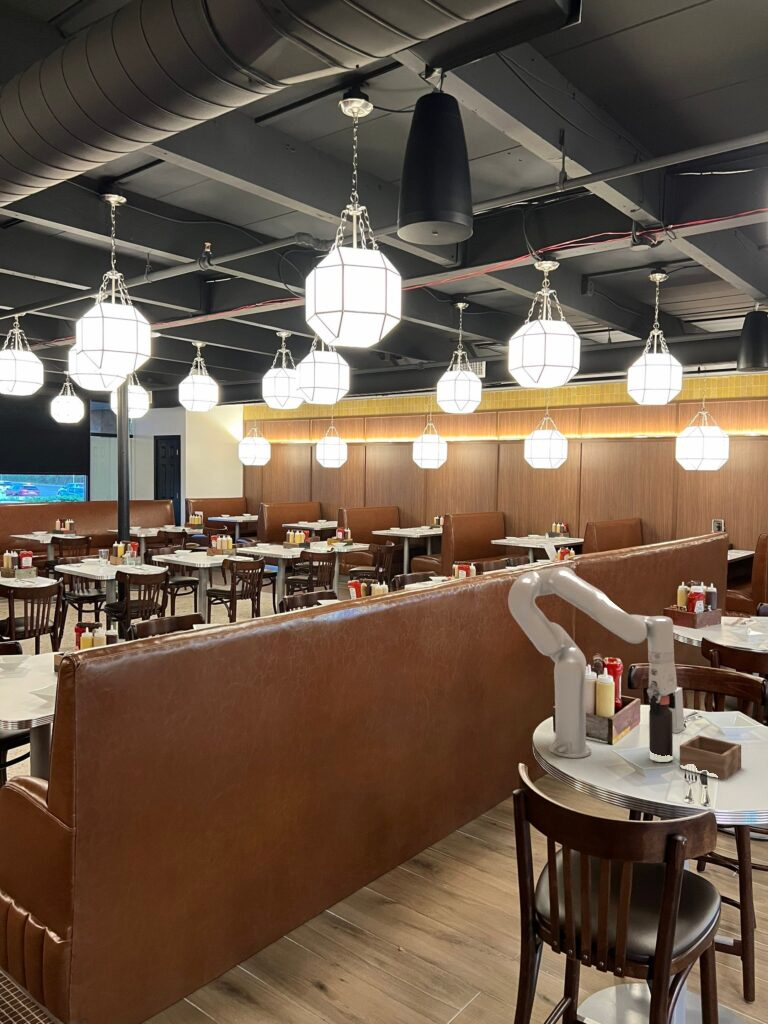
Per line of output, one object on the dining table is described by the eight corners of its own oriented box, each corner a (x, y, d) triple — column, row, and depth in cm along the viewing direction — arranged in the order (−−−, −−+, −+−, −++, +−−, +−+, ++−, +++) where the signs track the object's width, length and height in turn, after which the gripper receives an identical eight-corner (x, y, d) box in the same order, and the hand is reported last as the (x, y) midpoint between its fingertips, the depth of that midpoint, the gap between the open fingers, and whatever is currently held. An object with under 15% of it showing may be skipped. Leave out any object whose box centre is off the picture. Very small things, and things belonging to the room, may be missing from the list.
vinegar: (664, 754, 237) (664, 692, 236) (677, 762, 230) (676, 697, 229) (645, 756, 235) (644, 693, 234) (657, 764, 228) (657, 699, 228)
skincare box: (684, 730, 260) (684, 687, 259) (676, 734, 255) (676, 691, 255) (661, 724, 266) (660, 683, 265) (653, 728, 262) (653, 686, 261)
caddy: (723, 780, 215) (723, 756, 215) (679, 768, 225) (679, 745, 224) (741, 768, 224) (741, 744, 224) (698, 757, 234) (697, 735, 234)
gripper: (659, 663, 223) (661, 720, 223) (685, 653, 235) (686, 707, 235) (636, 660, 228) (638, 715, 229) (662, 650, 240) (663, 703, 241)
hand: (662, 711), depth 232 cm, fingers open, 9 cm apart
